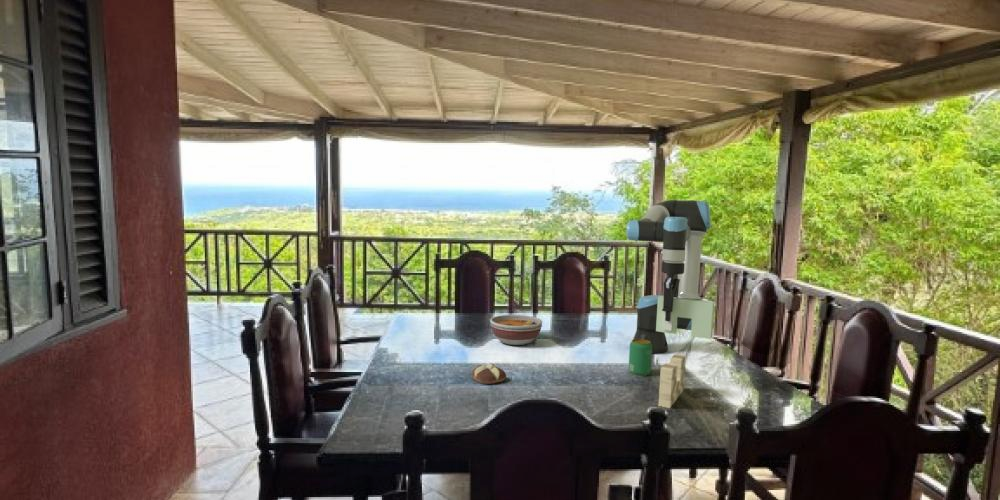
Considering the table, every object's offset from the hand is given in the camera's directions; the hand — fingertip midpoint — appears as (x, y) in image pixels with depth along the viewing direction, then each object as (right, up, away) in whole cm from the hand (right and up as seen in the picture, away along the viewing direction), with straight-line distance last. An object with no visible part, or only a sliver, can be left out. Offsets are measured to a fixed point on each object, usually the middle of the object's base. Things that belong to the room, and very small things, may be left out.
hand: (669, 328), depth 190 cm
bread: (-63, -18, +1) cm, 65 cm away
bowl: (-52, -14, +51) cm, 74 cm away
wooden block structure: (-3, -21, -11) cm, 24 cm away
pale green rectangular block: (+4, -2, -2) cm, 5 cm away
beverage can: (-7, -19, +13) cm, 24 cm away
